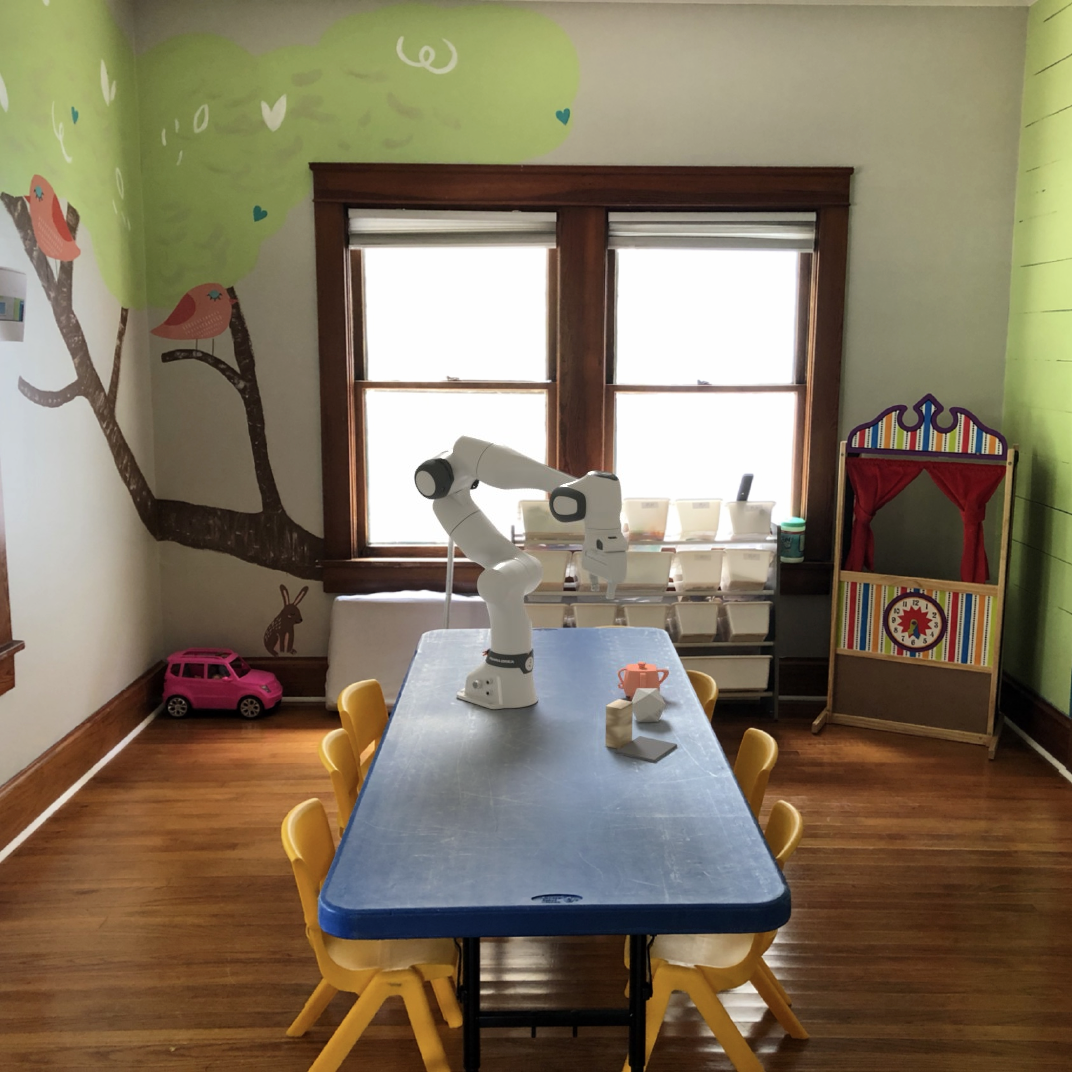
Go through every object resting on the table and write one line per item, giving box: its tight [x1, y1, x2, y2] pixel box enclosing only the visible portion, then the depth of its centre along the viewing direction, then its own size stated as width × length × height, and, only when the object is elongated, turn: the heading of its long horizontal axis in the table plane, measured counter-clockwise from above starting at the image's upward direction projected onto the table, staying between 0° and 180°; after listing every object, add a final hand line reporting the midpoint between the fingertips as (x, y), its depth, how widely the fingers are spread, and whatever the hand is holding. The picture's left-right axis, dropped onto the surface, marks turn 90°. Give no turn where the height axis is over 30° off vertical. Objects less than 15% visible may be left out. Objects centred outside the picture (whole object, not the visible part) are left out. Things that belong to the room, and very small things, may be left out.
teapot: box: [617, 661, 670, 701], centre depth 287 cm, size 12×12×10 cm
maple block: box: [604, 698, 634, 750], centre depth 251 cm, size 4×6×10 cm, turn 147°
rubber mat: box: [615, 735, 678, 763], centre depth 248 cm, size 10×12×1 cm
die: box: [631, 688, 667, 723], centre depth 268 cm, size 8×9×10 cm
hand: (602, 594), depth 255 cm, fingers open, 8 cm apart
